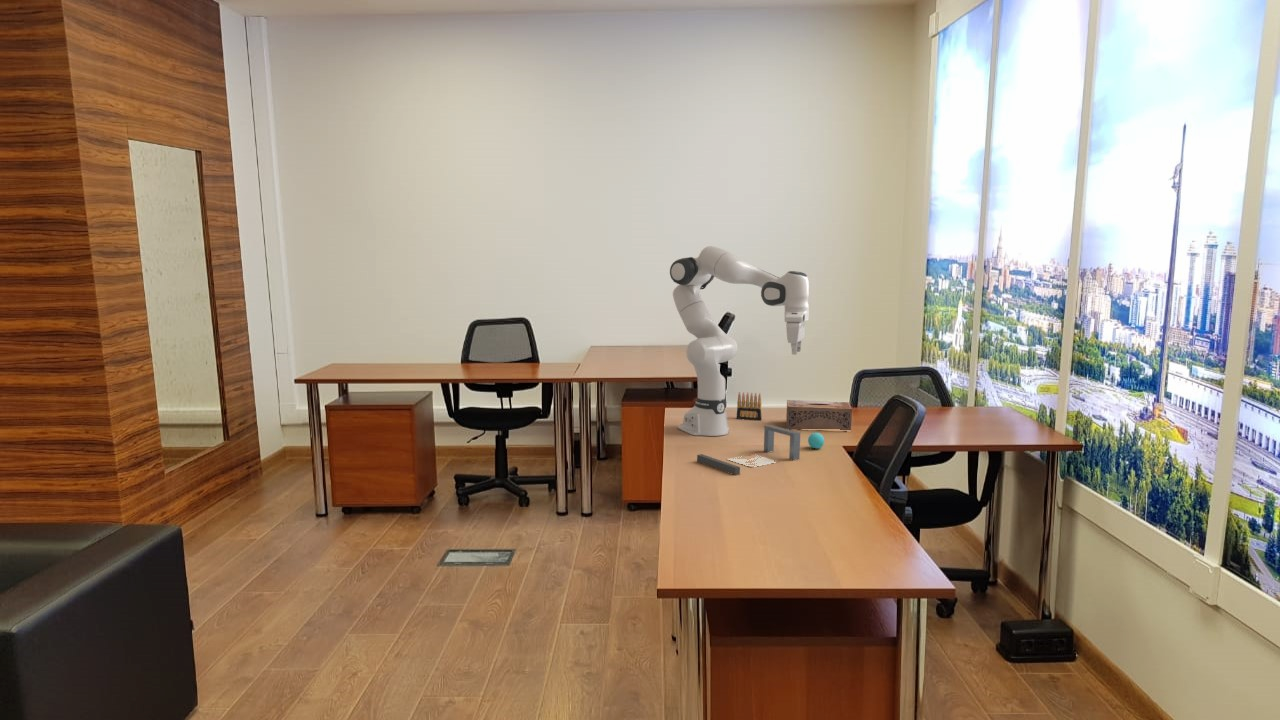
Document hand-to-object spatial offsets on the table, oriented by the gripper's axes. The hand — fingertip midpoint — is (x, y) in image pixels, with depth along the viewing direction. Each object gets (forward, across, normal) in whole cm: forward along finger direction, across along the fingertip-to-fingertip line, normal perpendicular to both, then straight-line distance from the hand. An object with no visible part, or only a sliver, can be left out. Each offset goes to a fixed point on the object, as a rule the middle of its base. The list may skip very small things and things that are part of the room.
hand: (796, 352), depth 302 cm
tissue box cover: (+36, -39, +4) cm, 53 cm away
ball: (+33, -1, +8) cm, 34 cm away
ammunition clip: (+35, -43, -26) cm, 61 cm away
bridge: (+36, +13, -3) cm, 38 cm away
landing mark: (+36, +25, -11) cm, 45 cm away
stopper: (+36, +38, -21) cm, 56 cm away
